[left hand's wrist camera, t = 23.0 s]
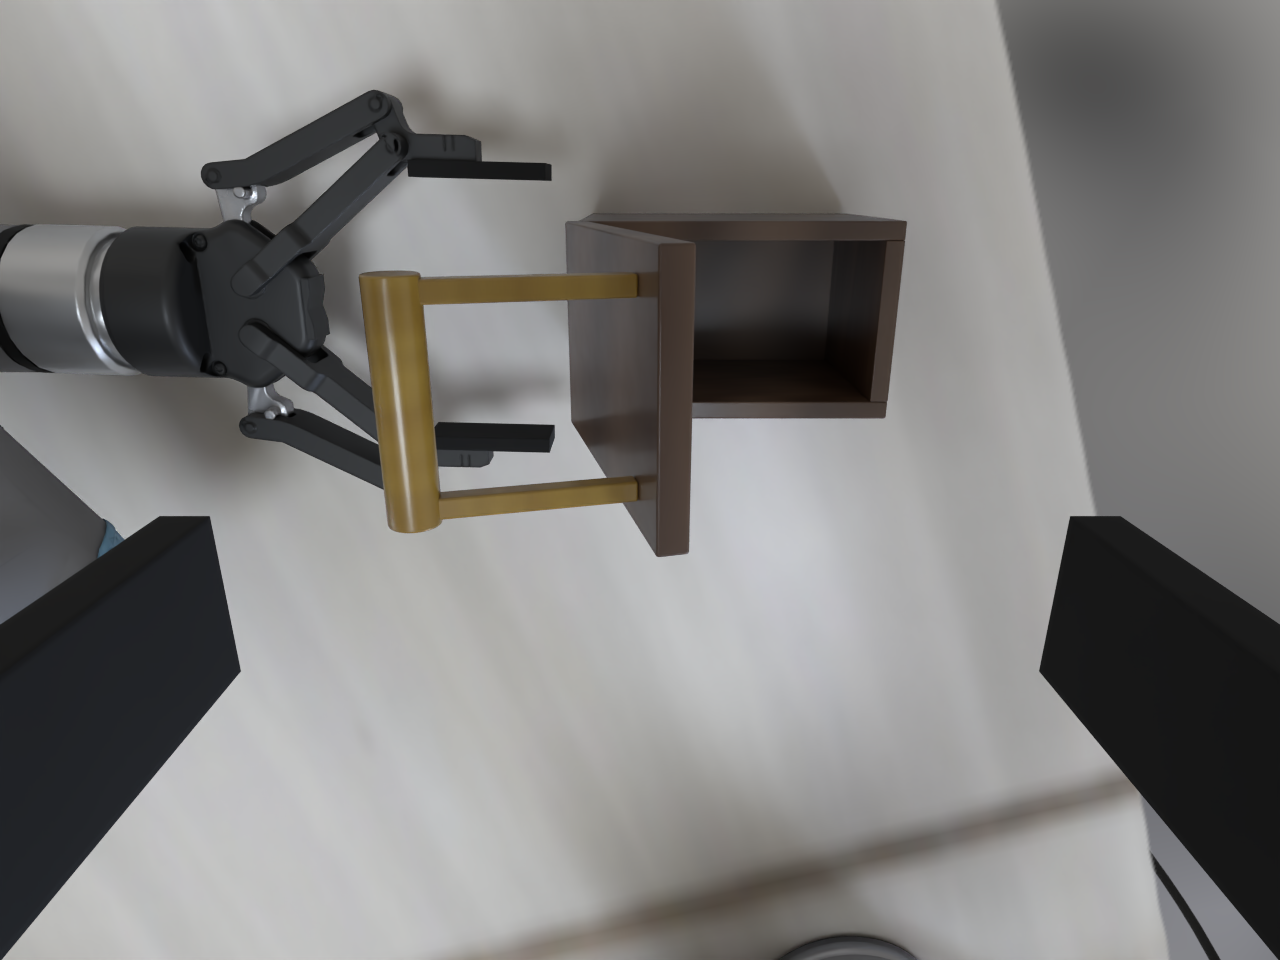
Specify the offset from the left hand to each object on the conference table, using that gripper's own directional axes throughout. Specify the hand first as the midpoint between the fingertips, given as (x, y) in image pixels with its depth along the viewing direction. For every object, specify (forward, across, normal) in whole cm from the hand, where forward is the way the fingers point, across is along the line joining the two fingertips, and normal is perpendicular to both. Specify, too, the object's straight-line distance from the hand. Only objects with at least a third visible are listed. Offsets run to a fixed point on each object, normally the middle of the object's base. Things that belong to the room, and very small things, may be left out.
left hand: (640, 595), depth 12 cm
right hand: (+31, +5, 0) cm, 31 cm away
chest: (+38, -5, 0) cm, 38 cm away
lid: (+19, 0, 0) cm, 19 cm away
